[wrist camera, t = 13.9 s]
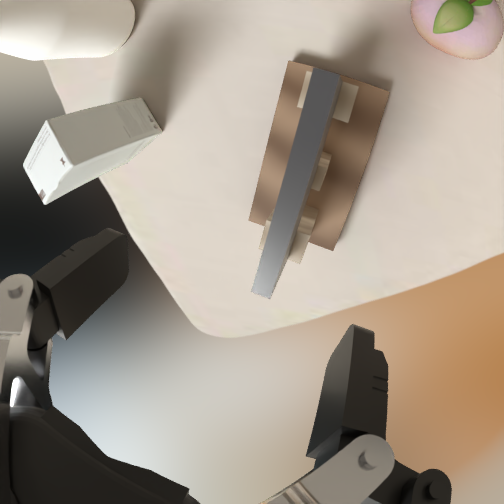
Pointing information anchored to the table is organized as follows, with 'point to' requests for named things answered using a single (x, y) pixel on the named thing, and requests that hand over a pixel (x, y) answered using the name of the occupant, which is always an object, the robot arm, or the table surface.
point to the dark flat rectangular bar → (298, 177)
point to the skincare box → (88, 145)
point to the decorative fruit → (459, 26)
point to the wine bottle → (64, 27)
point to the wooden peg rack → (331, 162)
